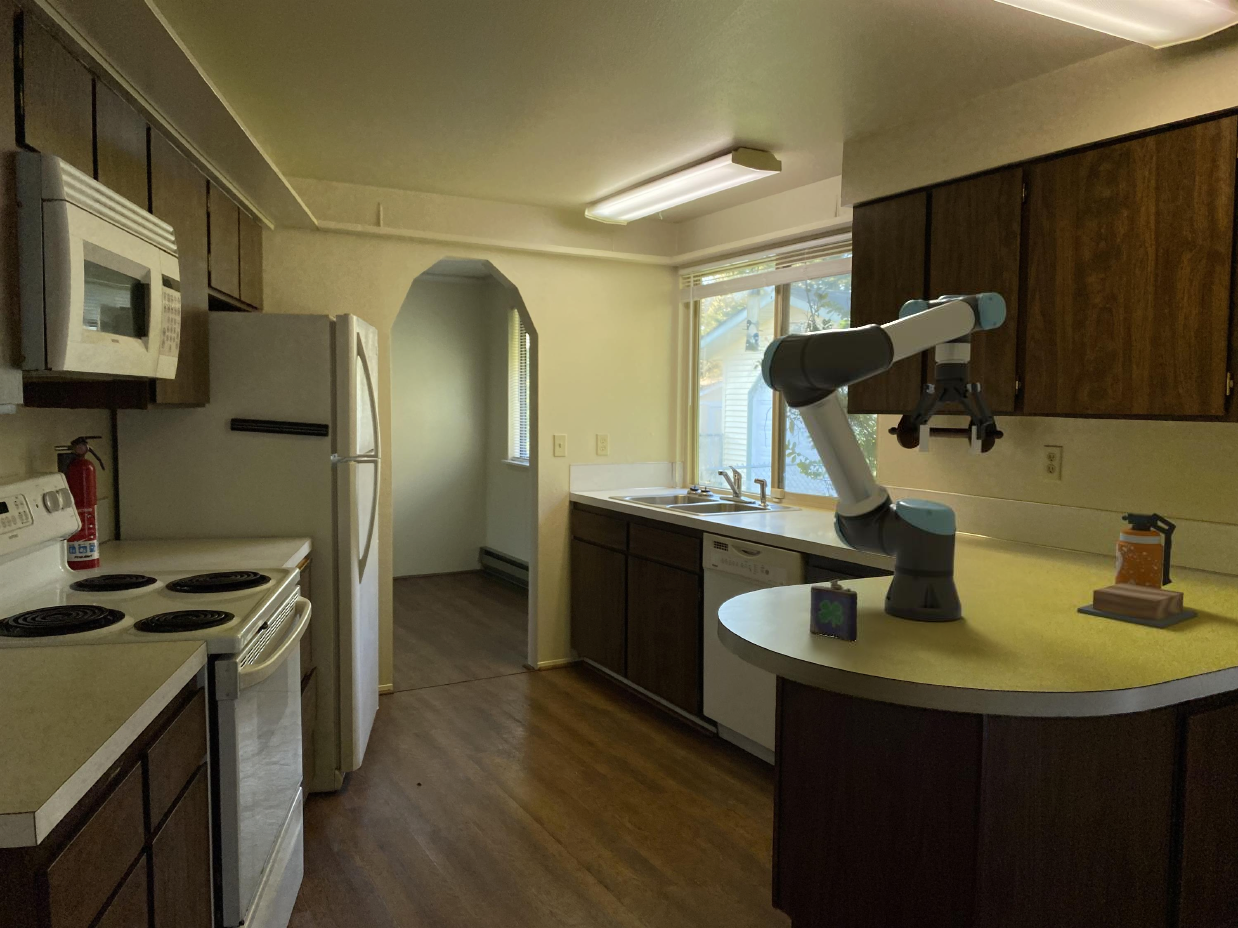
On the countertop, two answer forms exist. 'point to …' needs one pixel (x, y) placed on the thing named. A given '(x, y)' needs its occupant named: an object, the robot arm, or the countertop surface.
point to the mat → (1158, 623)
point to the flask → (834, 611)
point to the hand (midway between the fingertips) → (949, 453)
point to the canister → (1144, 551)
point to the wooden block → (1138, 601)
